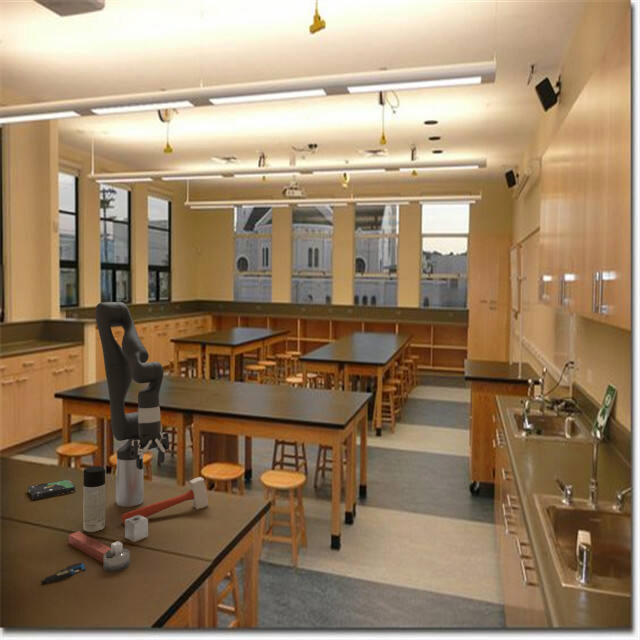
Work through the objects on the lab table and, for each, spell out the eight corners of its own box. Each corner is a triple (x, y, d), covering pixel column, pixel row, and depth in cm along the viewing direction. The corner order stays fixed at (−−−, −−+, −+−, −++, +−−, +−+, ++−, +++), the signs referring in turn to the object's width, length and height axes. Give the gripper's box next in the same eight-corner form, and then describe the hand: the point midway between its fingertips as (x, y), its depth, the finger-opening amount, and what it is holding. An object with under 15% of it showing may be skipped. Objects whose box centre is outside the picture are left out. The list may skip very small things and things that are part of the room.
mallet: (121, 508, 179) (205, 478, 196) (118, 505, 182) (201, 475, 199) (126, 538, 180) (209, 505, 197) (123, 534, 183) (205, 502, 200)
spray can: (100, 522, 182) (100, 464, 181) (108, 528, 178) (108, 469, 177) (80, 528, 178) (79, 468, 177) (88, 534, 173) (87, 473, 172)
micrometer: (82, 559, 155) (88, 566, 151) (81, 566, 155) (88, 573, 151) (36, 573, 146) (42, 580, 143) (36, 580, 147) (42, 587, 143)
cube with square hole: (124, 537, 172) (124, 519, 171) (138, 532, 176) (138, 514, 175) (134, 542, 169) (134, 523, 168) (147, 536, 173) (147, 518, 172)
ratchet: (62, 545, 166) (62, 525, 165) (84, 537, 171) (84, 517, 171) (112, 574, 149) (112, 551, 149) (134, 564, 155) (134, 542, 155)
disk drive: (33, 502, 200) (75, 493, 209) (33, 494, 200) (75, 486, 209) (27, 493, 208) (68, 485, 217) (27, 486, 208) (68, 478, 217)
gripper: (159, 415, 195) (161, 459, 196) (124, 422, 184) (126, 469, 184) (172, 417, 191) (174, 462, 191) (138, 424, 179) (139, 473, 180)
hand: (150, 466), depth 188 cm, fingers open, 8 cm apart
